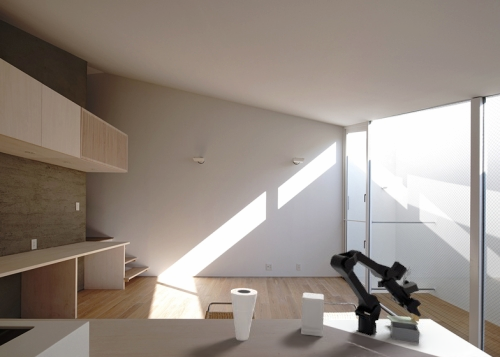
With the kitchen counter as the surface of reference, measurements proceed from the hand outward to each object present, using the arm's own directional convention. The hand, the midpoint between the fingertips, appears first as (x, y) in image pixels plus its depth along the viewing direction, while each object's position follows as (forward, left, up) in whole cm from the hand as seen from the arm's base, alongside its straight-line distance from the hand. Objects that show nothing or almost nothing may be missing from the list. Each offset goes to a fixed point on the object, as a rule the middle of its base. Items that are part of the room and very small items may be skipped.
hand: (418, 314), depth 156 cm
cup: (-41, -68, -7) cm, 80 cm away
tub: (0, -15, -7) cm, 17 cm away
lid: (-4, -5, -4) cm, 7 cm away
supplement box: (-28, -40, -7) cm, 49 cm away
